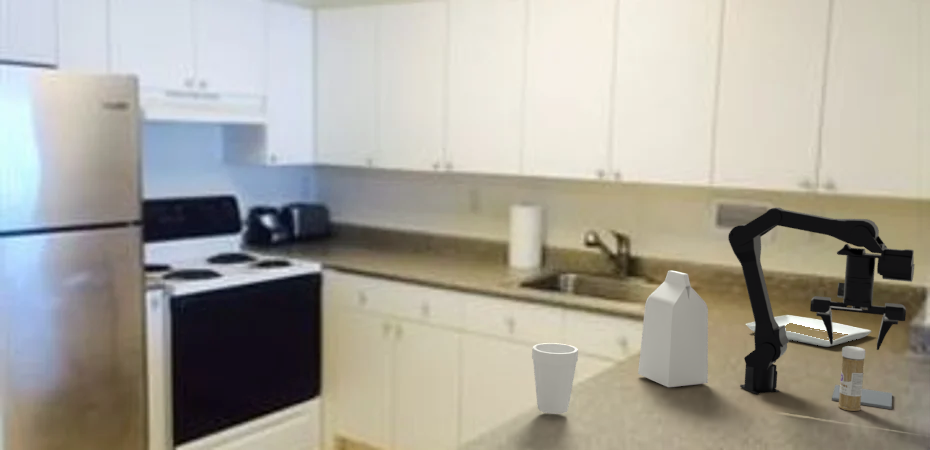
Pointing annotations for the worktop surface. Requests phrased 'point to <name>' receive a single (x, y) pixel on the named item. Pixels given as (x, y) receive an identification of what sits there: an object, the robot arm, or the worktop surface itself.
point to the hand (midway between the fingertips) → (854, 346)
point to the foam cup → (554, 375)
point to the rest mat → (869, 398)
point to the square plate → (817, 324)
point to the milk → (675, 334)
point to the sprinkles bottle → (851, 378)
